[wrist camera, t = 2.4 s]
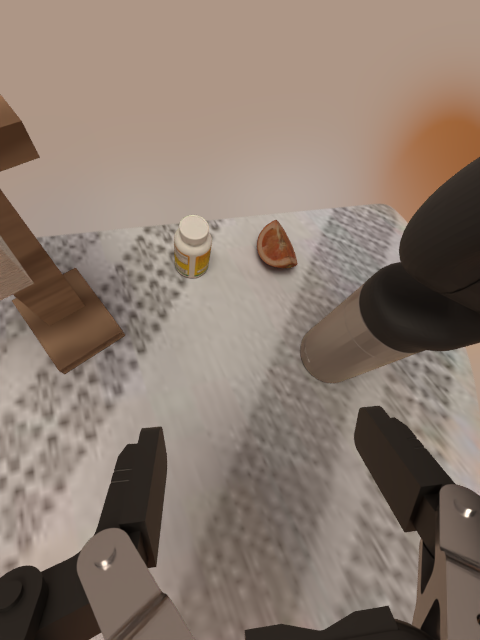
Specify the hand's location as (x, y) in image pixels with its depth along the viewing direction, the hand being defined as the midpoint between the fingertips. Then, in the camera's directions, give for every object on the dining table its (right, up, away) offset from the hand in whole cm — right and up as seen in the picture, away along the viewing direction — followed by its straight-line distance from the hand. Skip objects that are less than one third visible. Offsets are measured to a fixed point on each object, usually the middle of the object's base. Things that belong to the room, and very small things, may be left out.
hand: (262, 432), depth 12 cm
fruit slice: (+5, +15, +41) cm, 44 cm away
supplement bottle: (-9, +13, +37) cm, 41 cm away
